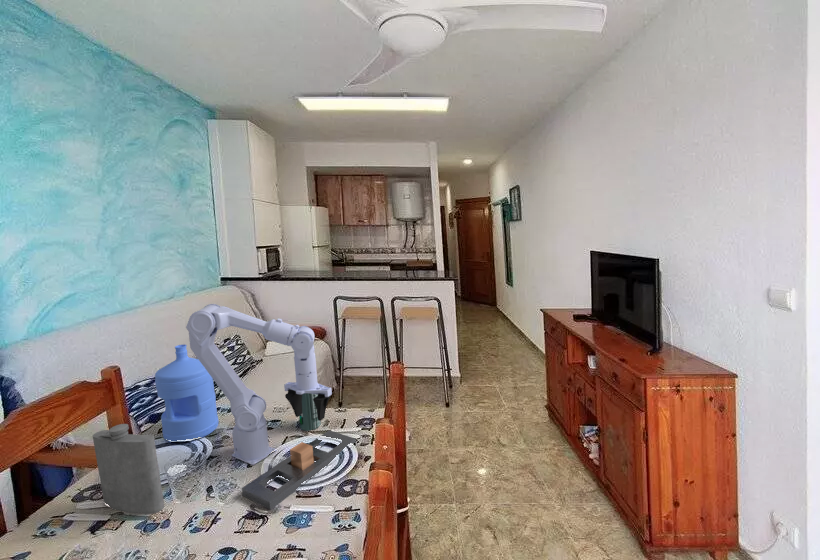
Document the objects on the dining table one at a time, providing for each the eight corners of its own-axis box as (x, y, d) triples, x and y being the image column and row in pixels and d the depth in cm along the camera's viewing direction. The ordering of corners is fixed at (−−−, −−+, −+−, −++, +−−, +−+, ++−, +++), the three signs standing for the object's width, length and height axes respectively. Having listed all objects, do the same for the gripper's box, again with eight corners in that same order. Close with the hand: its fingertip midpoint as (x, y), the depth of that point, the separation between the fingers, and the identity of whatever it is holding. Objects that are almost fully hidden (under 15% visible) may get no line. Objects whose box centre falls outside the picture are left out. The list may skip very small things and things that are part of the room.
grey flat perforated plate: (242, 495, 97) (241, 488, 97) (329, 436, 122) (329, 430, 122) (270, 509, 92) (269, 501, 91) (355, 444, 117) (355, 438, 117)
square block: (292, 470, 106) (289, 449, 105) (303, 462, 109) (301, 442, 108) (302, 475, 104) (300, 453, 103) (314, 467, 107) (312, 445, 106)
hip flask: (167, 505, 95) (155, 424, 92) (152, 517, 91) (139, 434, 88) (113, 496, 99) (100, 419, 96) (97, 508, 95) (83, 428, 92)
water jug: (194, 416, 139) (184, 337, 135) (229, 422, 134) (220, 340, 129) (151, 440, 125) (138, 352, 121) (189, 448, 119) (176, 356, 115)
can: (306, 420, 133) (303, 376, 131) (323, 422, 131) (320, 377, 129) (297, 429, 127) (292, 384, 125) (314, 431, 125) (310, 385, 123)
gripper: (275, 373, 112) (279, 419, 114) (319, 379, 106) (323, 427, 108) (291, 364, 118) (295, 408, 120) (334, 369, 113) (337, 415, 115)
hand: (310, 417), depth 115 cm, fingers open, 7 cm apart
